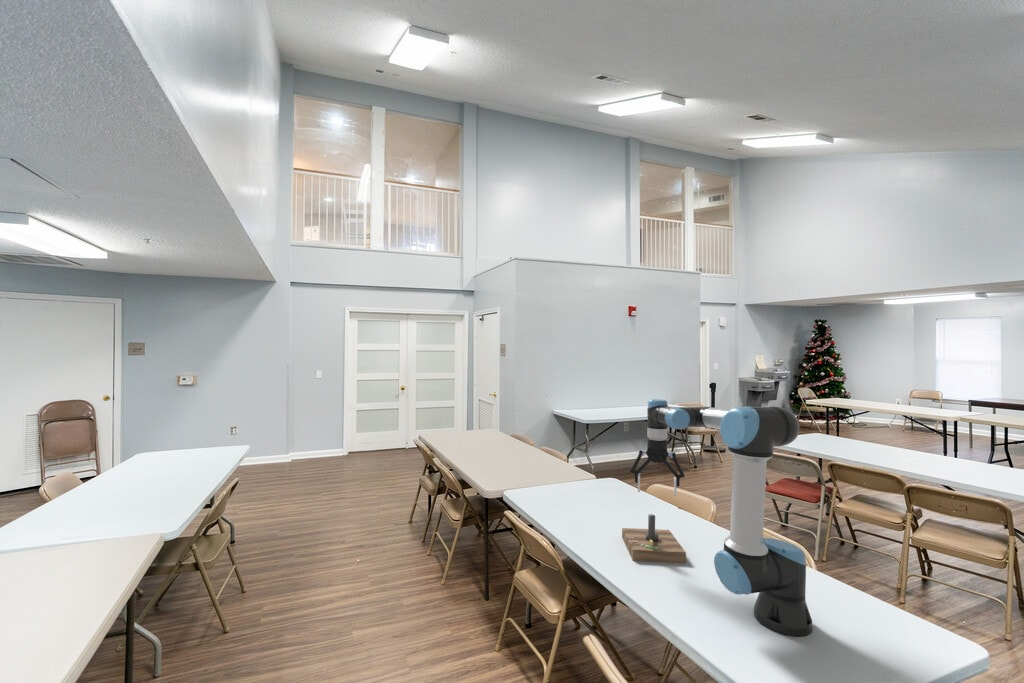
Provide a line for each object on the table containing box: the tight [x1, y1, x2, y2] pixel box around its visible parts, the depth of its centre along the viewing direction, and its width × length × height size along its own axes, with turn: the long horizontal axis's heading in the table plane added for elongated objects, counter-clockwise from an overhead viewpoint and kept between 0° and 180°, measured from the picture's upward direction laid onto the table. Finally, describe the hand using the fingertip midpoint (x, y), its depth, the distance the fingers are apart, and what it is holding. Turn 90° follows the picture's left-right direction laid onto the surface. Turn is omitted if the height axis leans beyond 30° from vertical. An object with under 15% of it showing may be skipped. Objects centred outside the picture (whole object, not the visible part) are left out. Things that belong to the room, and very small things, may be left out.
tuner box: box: [621, 527, 687, 564], centre depth 185 cm, size 22×20×4 cm
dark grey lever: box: [646, 514, 659, 545], centre depth 182 cm, size 5×12×11 cm, turn 161°
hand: (656, 493), depth 179 cm, fingers open, 13 cm apart
